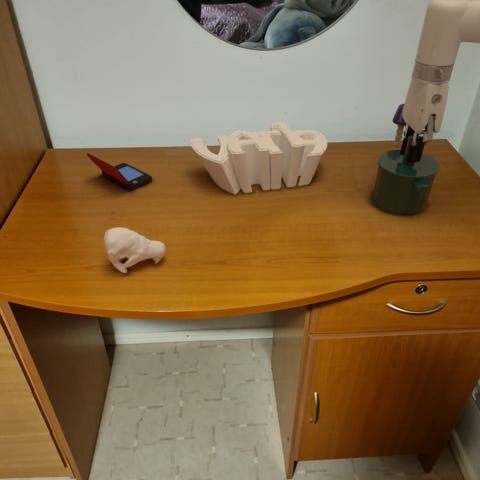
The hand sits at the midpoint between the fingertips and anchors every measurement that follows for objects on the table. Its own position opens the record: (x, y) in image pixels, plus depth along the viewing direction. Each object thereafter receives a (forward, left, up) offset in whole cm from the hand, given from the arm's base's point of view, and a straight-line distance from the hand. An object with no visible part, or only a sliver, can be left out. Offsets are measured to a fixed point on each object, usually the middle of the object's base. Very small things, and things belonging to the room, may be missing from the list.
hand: (409, 157), depth 109 cm
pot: (0, 0, -11) cm, 11 cm away
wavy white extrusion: (+31, -17, -11) cm, 37 cm away
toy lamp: (-4, -16, -11) cm, 20 cm away
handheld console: (+67, -19, -11) cm, 71 cm away
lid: (0, 0, -2) cm, 2 cm away
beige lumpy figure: (+62, +17, -11) cm, 65 cm away
